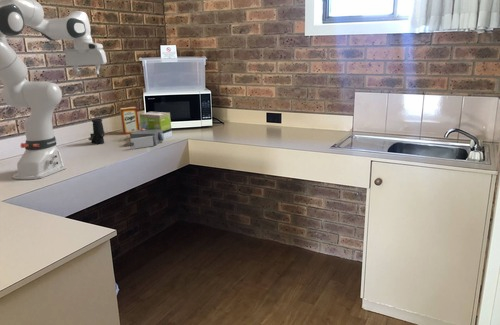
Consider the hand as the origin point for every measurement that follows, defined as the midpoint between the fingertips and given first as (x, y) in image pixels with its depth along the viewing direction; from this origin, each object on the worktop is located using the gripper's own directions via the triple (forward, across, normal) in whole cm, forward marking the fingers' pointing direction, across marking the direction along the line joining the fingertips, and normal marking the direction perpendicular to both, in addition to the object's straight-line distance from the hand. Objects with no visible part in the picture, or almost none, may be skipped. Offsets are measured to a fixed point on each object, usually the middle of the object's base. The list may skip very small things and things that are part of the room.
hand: (88, 74), depth 205 cm
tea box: (+40, +22, +27) cm, 53 cm away
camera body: (+40, +21, +14) cm, 47 cm away
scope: (+40, -8, +16) cm, 44 cm away
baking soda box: (+40, -1, +44) cm, 59 cm away
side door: (+39, +22, +4) cm, 45 cm away
